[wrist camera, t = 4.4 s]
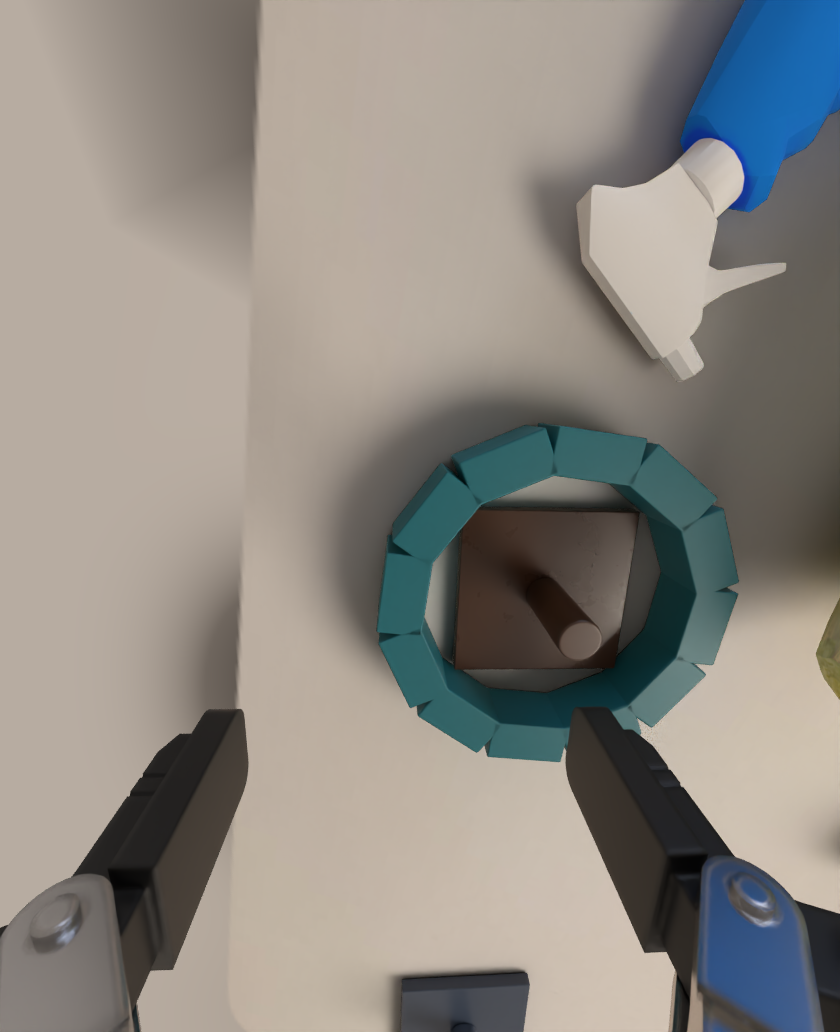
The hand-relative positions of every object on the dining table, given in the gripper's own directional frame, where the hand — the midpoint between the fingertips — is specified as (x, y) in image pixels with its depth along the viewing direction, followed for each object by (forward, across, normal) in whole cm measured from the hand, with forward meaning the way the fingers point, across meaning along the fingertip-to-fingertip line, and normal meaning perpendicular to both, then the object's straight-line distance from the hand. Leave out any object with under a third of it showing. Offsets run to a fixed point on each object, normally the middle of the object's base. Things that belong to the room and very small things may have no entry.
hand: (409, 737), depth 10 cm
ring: (+9, -6, 0) cm, 11 cm away
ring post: (+9, -6, 0) cm, 11 cm away
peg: (+9, -4, +29) cm, 31 cm away
